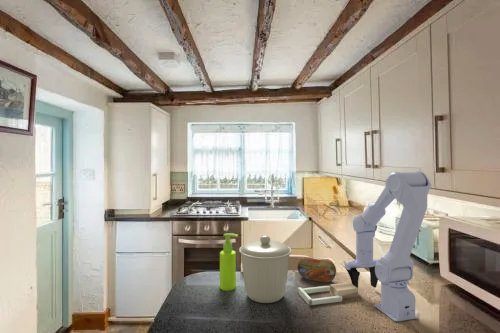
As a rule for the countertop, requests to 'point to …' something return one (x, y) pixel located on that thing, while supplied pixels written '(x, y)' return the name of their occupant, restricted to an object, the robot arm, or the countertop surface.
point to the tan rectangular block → (344, 290)
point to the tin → (317, 269)
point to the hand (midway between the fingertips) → (364, 287)
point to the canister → (265, 269)
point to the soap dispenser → (228, 264)
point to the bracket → (316, 301)
